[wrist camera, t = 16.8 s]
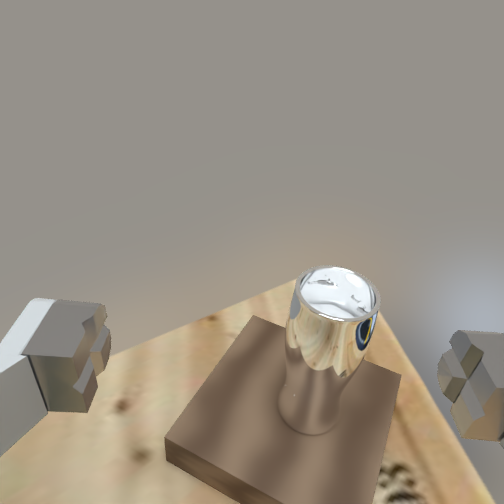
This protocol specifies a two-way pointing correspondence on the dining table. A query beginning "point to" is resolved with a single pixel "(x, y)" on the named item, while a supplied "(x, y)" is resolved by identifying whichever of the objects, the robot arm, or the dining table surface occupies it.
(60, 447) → the dining table surface
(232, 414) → the walnut base
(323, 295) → the beer glass
